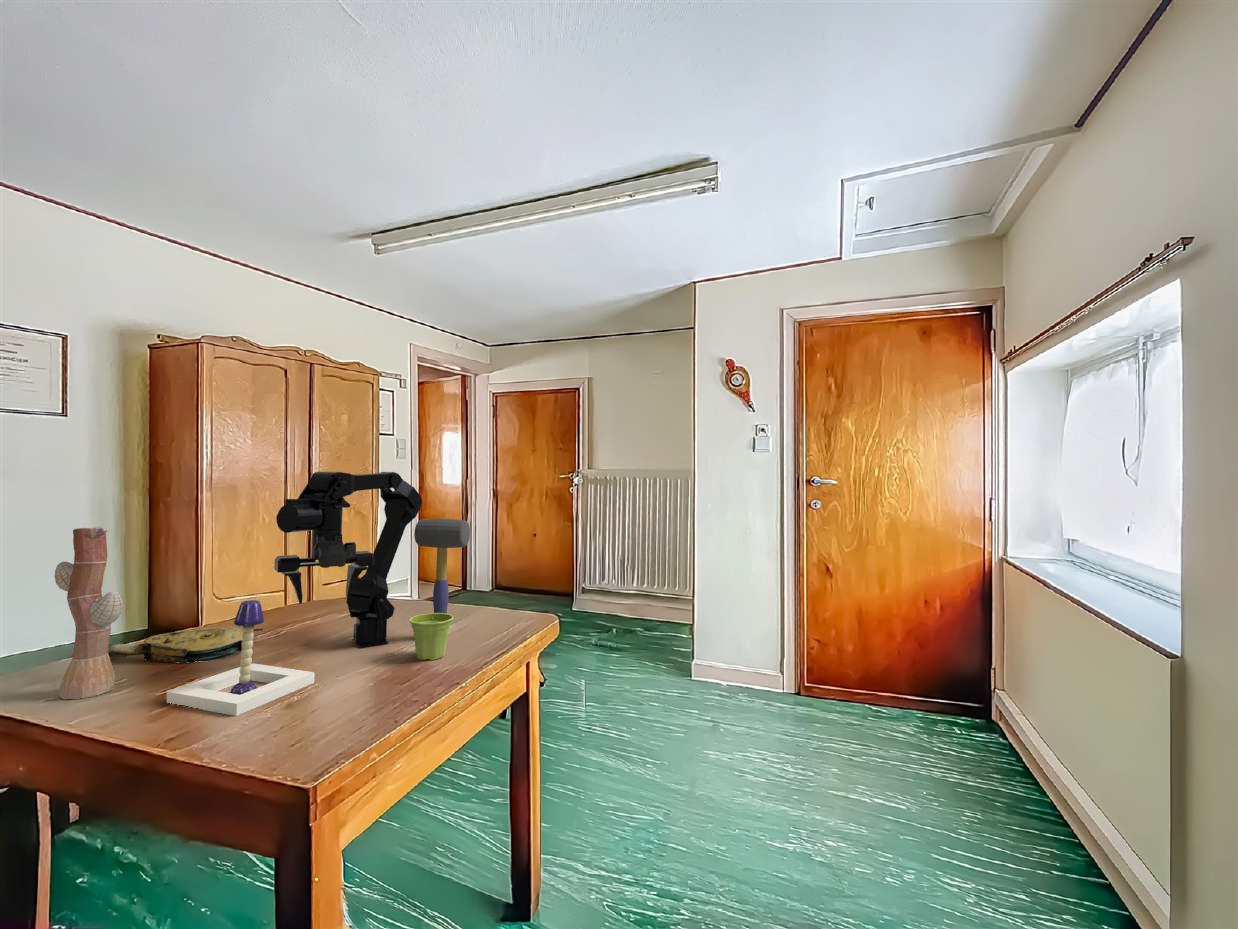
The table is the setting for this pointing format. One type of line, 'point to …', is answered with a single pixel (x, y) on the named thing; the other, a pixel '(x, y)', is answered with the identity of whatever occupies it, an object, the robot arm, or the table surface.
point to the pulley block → (186, 645)
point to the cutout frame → (211, 699)
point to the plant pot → (431, 634)
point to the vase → (88, 615)
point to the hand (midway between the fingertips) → (324, 600)
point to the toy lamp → (247, 642)
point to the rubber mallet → (442, 550)
